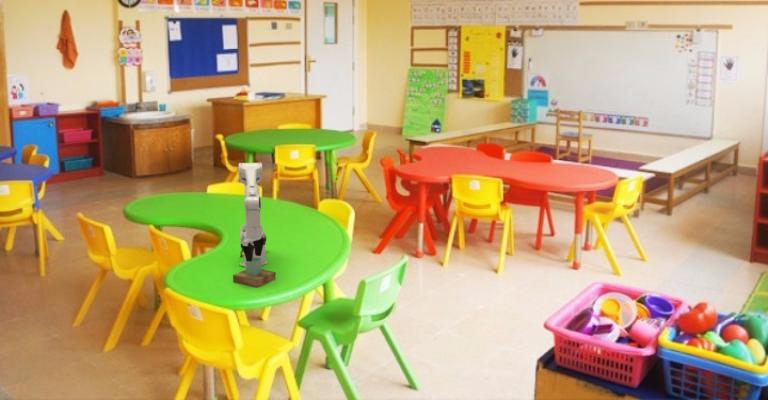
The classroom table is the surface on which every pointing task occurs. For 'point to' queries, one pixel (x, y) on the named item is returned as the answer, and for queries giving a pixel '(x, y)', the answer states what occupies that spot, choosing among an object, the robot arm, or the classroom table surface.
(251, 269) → the teal block
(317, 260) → the classroom table surface
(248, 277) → the walnut base
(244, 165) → the robot arm
